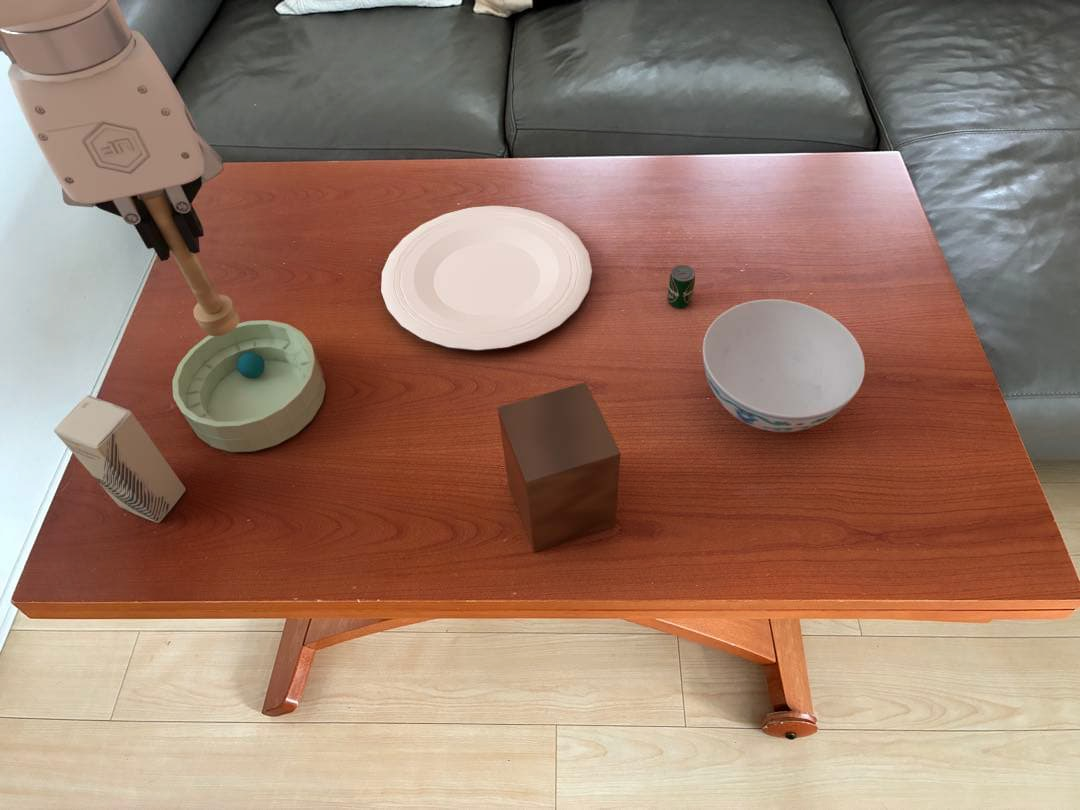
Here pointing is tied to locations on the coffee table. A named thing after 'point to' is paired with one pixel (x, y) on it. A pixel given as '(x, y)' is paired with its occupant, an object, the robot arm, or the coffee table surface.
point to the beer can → (681, 286)
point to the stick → (192, 271)
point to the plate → (486, 278)
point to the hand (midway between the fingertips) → (179, 245)
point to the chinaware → (781, 364)
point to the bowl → (250, 387)
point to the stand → (560, 465)
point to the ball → (250, 365)
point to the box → (121, 457)
